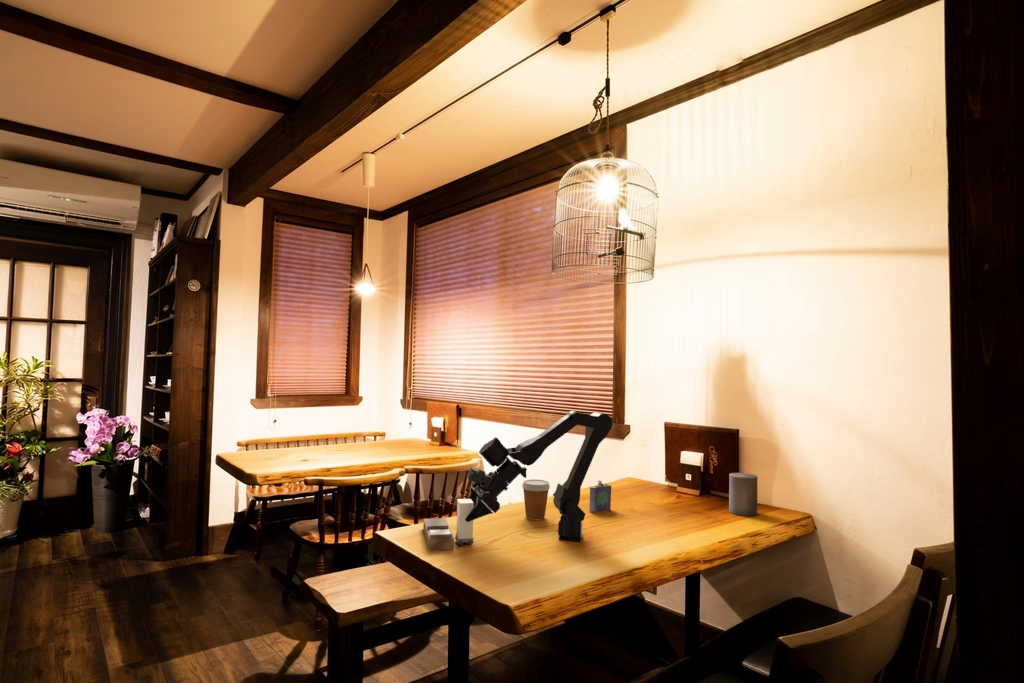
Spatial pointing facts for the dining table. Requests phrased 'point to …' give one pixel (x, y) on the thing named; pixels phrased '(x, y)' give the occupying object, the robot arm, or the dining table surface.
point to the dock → (438, 534)
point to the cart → (464, 522)
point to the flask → (600, 498)
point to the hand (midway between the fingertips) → (463, 516)
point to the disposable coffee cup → (535, 498)
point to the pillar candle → (743, 494)
